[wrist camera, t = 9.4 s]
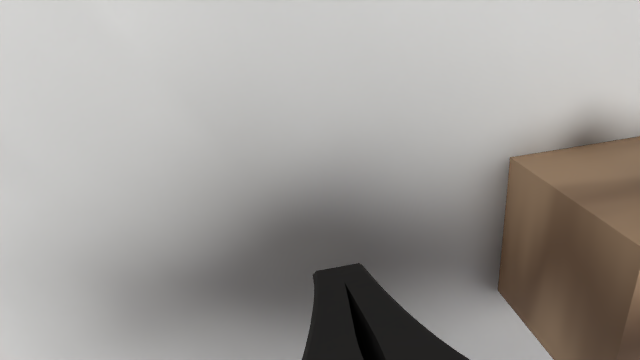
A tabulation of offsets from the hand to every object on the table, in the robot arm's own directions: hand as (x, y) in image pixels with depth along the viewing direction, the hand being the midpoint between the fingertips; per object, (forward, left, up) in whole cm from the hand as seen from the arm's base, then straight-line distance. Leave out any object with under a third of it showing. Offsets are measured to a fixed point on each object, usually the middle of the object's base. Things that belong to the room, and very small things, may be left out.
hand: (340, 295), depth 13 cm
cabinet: (0, -8, -2) cm, 8 cm away
